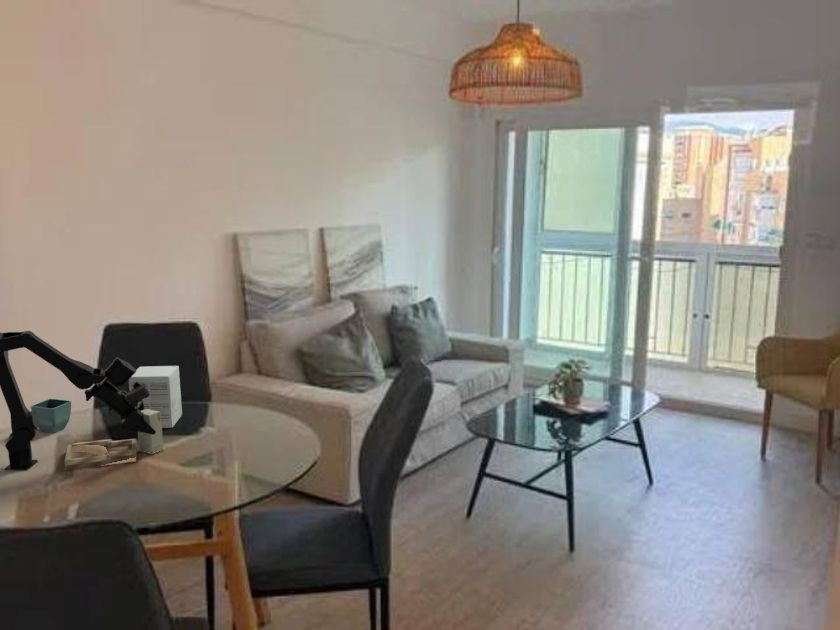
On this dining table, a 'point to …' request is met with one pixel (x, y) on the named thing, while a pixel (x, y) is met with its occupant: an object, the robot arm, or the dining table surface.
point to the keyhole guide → (88, 460)
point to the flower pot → (52, 414)
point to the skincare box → (149, 440)
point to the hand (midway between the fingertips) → (154, 429)
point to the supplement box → (161, 391)
